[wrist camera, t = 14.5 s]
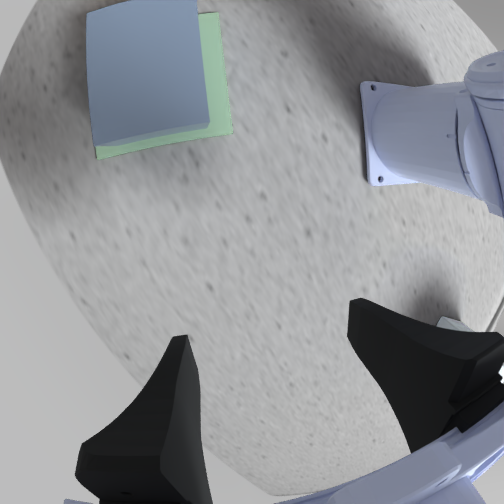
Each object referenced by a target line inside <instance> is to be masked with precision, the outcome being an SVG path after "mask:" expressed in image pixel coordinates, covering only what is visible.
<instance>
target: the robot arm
mask: <svg viewBox="0 0 504 504" xmlns="http://www.w3.org/2000/svg"><path fill="white" fill-rule="evenodd" d="M371 85H372V86H373V88H374V90H372V89H371ZM360 92H361V100H362V109H363V119H364V130H365V142H366V158H367V180H368V183H369V184H370V185H372V186H383V185H394V184H407V183H420V182H421V183H425V184H429V185H432V186H436V187H440V188H443V189H447V190H450V191H454V192H457V193H460V194H464V195H467V196H470V197H473V198H476V199H479V200H483V201H484V202H485V203H486V204H487V206H488V209H489V212H490V213H492V214H495V215H498V216H500V217H503V218H504V50H503V51H499V52H495V53H492V54H489V55H486V56H483V57H481V58H479V59H477V60H475V61H474V62H472V63H471V64H470V66H469V68H468V71H467V73H466V74H465V76H464V82H452V83H443V84H434V85H426V86H419V87H410V86H404V85H397V84H390V83H382V82H373V81H364V82H362V83H361V84H360ZM379 176H380V178H381V179H380V181H378V177H379ZM347 337H348V339H349V341H350V343H351V345H352V347H353V349H354V351H355V352H356V354H357V356H358V357H359V358H360V360H361V361H362V363H363V364H364V365H365V367H366V368H367V369H368V371H369V372H370V373H371V375H372V376H373V378H374V379H375V380H376V382H377V383H378V384H379V386H380V387H381V389H382V390H383V392H384V394H385V396H386V397H387V399H388V401H389V403H390V405H391V407H392V409H393V411H394V413H395V415H396V417H397V419H398V421H399V423H400V426H401V428H402V431H403V433H404V435H405V438H406V440H407V443H408V446H409V449H410V452H411V454H410V455H408V456H406V457H404V458H402V459H400V460H398V461H396V462H394V463H392V464H390V465H387V466H385V467H383V468H381V469H379V470H376V471H374V472H372V473H369V474H367V475H365V476H362V477H360V478H357V479H355V480H352V481H349V482H347V483H344V484H341V485H338V486H335V487H332V488H329V489H326V490H323V491H320V492H317V493H314V494H311V495H307V496H303V497H299V498H296V499H292V500H288V501H283V502H279V503H275V504H486V503H485V502H484V500H483V498H482V497H481V496H480V494H479V493H478V491H477V490H476V488H475V487H474V485H473V484H472V482H474V481H475V480H476V479H477V478H478V477H479V476H481V475H482V474H483V473H484V472H485V471H487V470H488V469H489V468H490V467H491V466H492V465H493V464H494V463H495V462H497V461H498V460H499V459H500V458H501V457H502V456H503V455H504V384H503V383H501V381H502V379H503V377H502V376H501V375H500V374H499V371H500V369H501V367H502V365H503V363H504V337H503V336H502V335H501V334H499V333H498V332H467V331H458V330H452V329H446V328H441V327H437V326H433V325H430V324H426V323H423V322H420V321H417V320H414V319H411V318H409V317H406V316H403V315H401V314H399V313H396V312H394V311H392V310H389V309H387V308H385V307H383V306H380V305H378V304H376V303H374V302H371V301H369V300H366V299H364V298H358V299H354V300H351V301H350V303H349V319H348V332H347ZM75 476H76V479H77V480H78V481H79V482H80V483H81V484H82V485H83V486H84V487H85V488H86V489H88V490H89V491H90V492H91V493H93V494H94V495H95V496H96V497H98V498H99V499H100V501H99V504H213V502H212V498H211V493H210V489H209V484H208V480H207V473H206V468H205V462H204V456H203V450H202V442H201V417H200V382H199V374H198V368H197V365H196V362H195V359H194V356H193V352H192V349H191V346H190V342H189V339H188V335H181V336H174V337H173V338H172V339H171V341H170V343H169V345H168V347H167V349H166V351H165V353H164V355H163V357H162V359H161V361H160V362H159V364H158V366H157V368H156V369H155V371H154V373H153V374H152V376H151V377H150V379H149V380H148V382H147V384H146V385H145V386H144V388H143V389H142V391H141V392H140V393H139V394H138V396H137V397H136V398H135V399H134V401H133V402H132V403H131V404H130V405H129V406H128V407H127V408H126V409H125V410H124V411H123V412H122V413H121V414H120V415H119V416H118V417H117V418H116V419H115V420H114V421H113V422H111V423H110V424H109V425H108V426H106V427H105V428H104V429H103V430H101V431H100V432H99V433H97V434H96V435H94V436H93V437H91V438H90V439H88V440H87V441H85V442H84V443H82V445H81V448H80V451H79V455H78V461H77V466H76V471H75ZM64 504H92V503H87V502H81V501H75V500H70V499H65V500H64Z"/></svg>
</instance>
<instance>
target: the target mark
mask: <svg viewBox="0 0 504 504" xmlns="http://www.w3.org/2000/svg"><path fill="white" fill-rule="evenodd" d="M198 20H199V30H200V40H201V49H202V58H203V67H204V76H205V85H206V93H207V101H208V109H209V117H210V123H209V125H208V127H207V128H206V129H200V130H194V131H187V132H182V133H176V134H171V135H165V136H160V137H155V138H150V139H146V140H141V141H137V142H132V143H128V144H124V145H120V146H95V148H96V155H97V160H101V159H105V158H109V157H112V156H116V155H121V154H125V153H129V152H133V151H138V150H142V149H147V148H152V147H156V146H161V145H167V144H172V143H177V142H183V141H189V140H195V139H201V138H208V137H214V136H222V135H229V134H233V130H232V121H231V113H230V105H229V97H228V89H227V81H226V73H225V64H224V56H223V48H222V40H221V31H220V23H219V14H218V12H216V13H205V14H198Z"/></svg>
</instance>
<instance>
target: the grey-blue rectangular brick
mask: <svg viewBox="0 0 504 504" xmlns="http://www.w3.org/2000/svg"><path fill="white" fill-rule="evenodd" d="M86 65H87V85H88V99H89V110H90V120H91V128H92V136H93V144H94V146H120V145H124V144H128V143H132V142H137V141H141V140H146V139H150V138H155V137H160V136H165V135H171V134H176V133H182V132H187V131H194V130H200V129H206V128H207V127H208V125H209V123H210V117H209V109H208V101H207V93H206V85H205V76H204V67H203V58H202V49H201V40H200V30H199V20H198V10H197V0H130V1H126V2H122V3H118V4H115V5H111V6H108V7H104V8H101V9H98V10H95V11H92V12H89V13H87V18H86Z"/></svg>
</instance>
